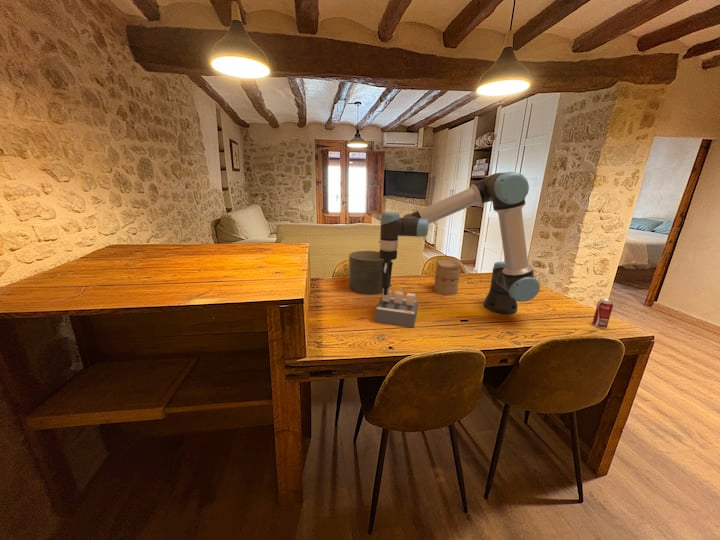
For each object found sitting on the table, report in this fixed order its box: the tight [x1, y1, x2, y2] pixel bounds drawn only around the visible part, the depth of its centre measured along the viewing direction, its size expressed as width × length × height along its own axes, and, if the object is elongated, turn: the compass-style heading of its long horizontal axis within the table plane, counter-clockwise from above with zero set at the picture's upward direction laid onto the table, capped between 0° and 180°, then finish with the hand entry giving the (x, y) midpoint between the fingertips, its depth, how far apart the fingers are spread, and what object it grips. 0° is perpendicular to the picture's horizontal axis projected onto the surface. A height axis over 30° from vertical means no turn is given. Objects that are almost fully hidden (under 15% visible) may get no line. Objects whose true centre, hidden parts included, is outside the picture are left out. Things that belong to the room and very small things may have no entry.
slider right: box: [405, 292, 416, 306], centre depth 133 cm, size 4×4×4 cm
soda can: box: [591, 298, 614, 329], centre depth 131 cm, size 5×5×12 cm
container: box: [433, 258, 462, 296], centre depth 163 cm, size 13×13×18 cm
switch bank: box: [374, 296, 419, 328], centre depth 134 cm, size 17×16×6 cm
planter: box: [348, 250, 384, 296], centre depth 165 cm, size 22×22×20 cm
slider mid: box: [393, 290, 404, 304], centre depth 135 cm, size 4×4×4 cm
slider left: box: [381, 289, 393, 302], centre depth 137 cm, size 4×4×4 cm
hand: (385, 300), depth 134 cm, fingers closed
